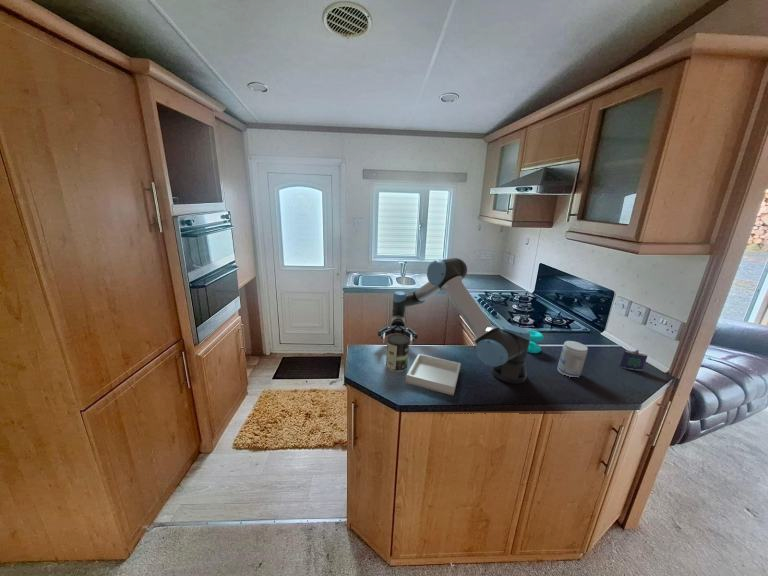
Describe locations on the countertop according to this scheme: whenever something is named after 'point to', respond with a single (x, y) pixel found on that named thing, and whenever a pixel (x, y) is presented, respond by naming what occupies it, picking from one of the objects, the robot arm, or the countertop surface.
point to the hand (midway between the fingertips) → (397, 341)
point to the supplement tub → (572, 359)
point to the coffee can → (397, 352)
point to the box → (434, 374)
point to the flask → (633, 360)
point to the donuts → (535, 337)
